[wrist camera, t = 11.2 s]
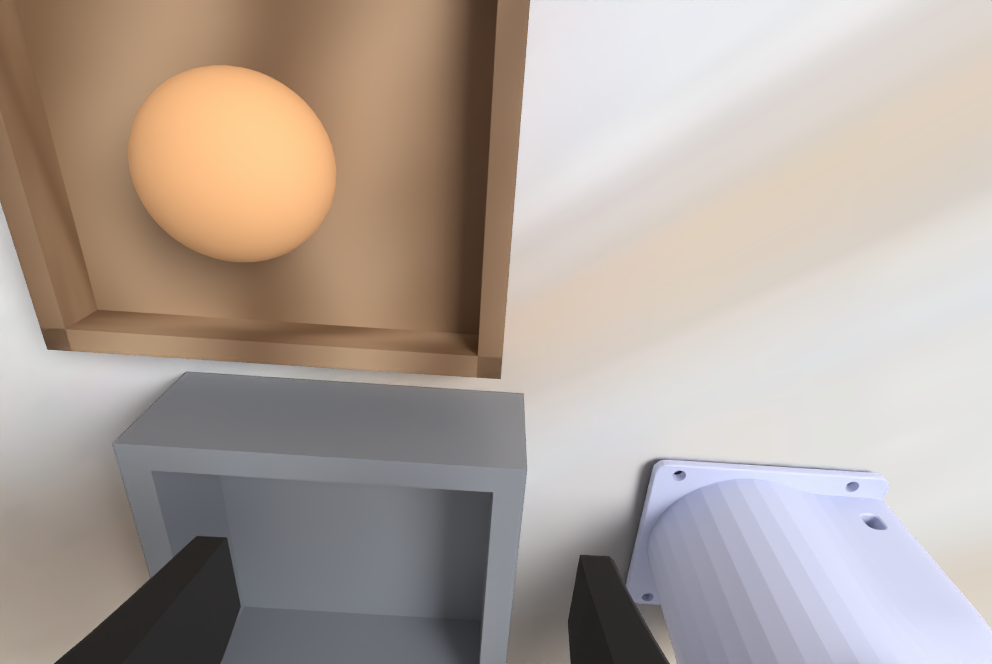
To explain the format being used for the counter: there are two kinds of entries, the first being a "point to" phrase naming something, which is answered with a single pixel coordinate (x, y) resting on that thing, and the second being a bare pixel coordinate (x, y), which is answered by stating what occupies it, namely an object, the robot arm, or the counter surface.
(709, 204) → the counter surface
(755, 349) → the counter surface
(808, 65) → the counter surface
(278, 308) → the tray
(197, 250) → the ball
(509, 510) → the bin
